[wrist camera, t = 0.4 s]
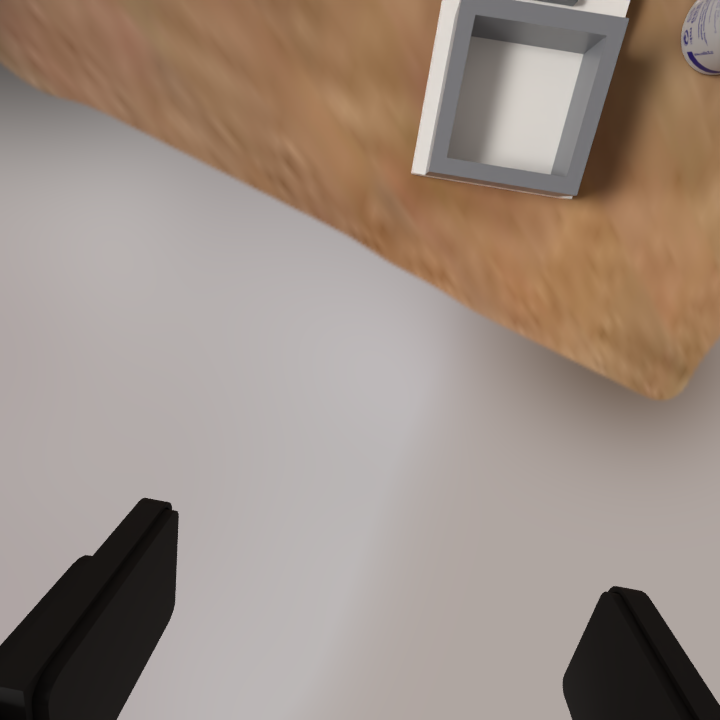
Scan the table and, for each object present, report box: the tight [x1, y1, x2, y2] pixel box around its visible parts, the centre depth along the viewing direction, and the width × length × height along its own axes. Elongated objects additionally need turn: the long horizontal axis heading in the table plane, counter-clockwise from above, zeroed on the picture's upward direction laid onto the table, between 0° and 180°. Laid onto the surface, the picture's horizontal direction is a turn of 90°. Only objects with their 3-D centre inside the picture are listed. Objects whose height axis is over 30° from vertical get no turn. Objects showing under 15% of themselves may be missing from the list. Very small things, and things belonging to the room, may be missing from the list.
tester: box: [411, 0, 630, 199], centre depth 29 cm, size 20×12×5 cm, turn 171°
